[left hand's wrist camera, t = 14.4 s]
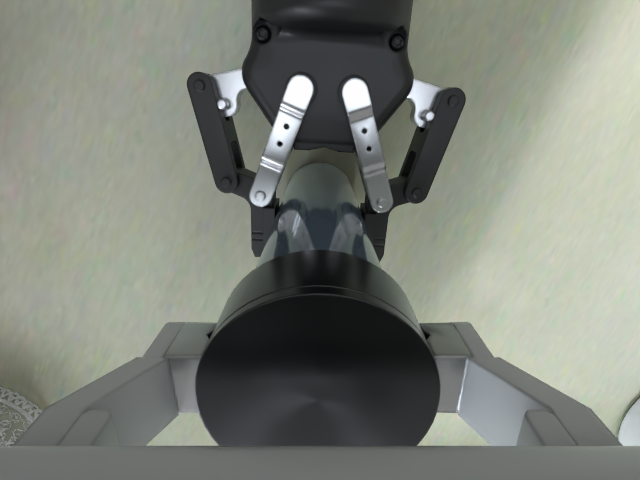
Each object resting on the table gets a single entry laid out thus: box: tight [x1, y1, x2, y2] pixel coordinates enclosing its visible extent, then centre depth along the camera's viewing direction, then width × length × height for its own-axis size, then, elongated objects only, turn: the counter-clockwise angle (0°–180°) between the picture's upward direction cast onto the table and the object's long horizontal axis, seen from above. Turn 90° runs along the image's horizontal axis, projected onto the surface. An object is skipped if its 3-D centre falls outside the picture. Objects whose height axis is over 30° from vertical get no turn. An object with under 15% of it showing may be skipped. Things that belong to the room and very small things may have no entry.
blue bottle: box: [256, 162, 382, 269], centre depth 18 cm, size 5×5×19 cm
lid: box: [195, 250, 441, 446], centre depth 10 cm, size 6×6×2 cm
